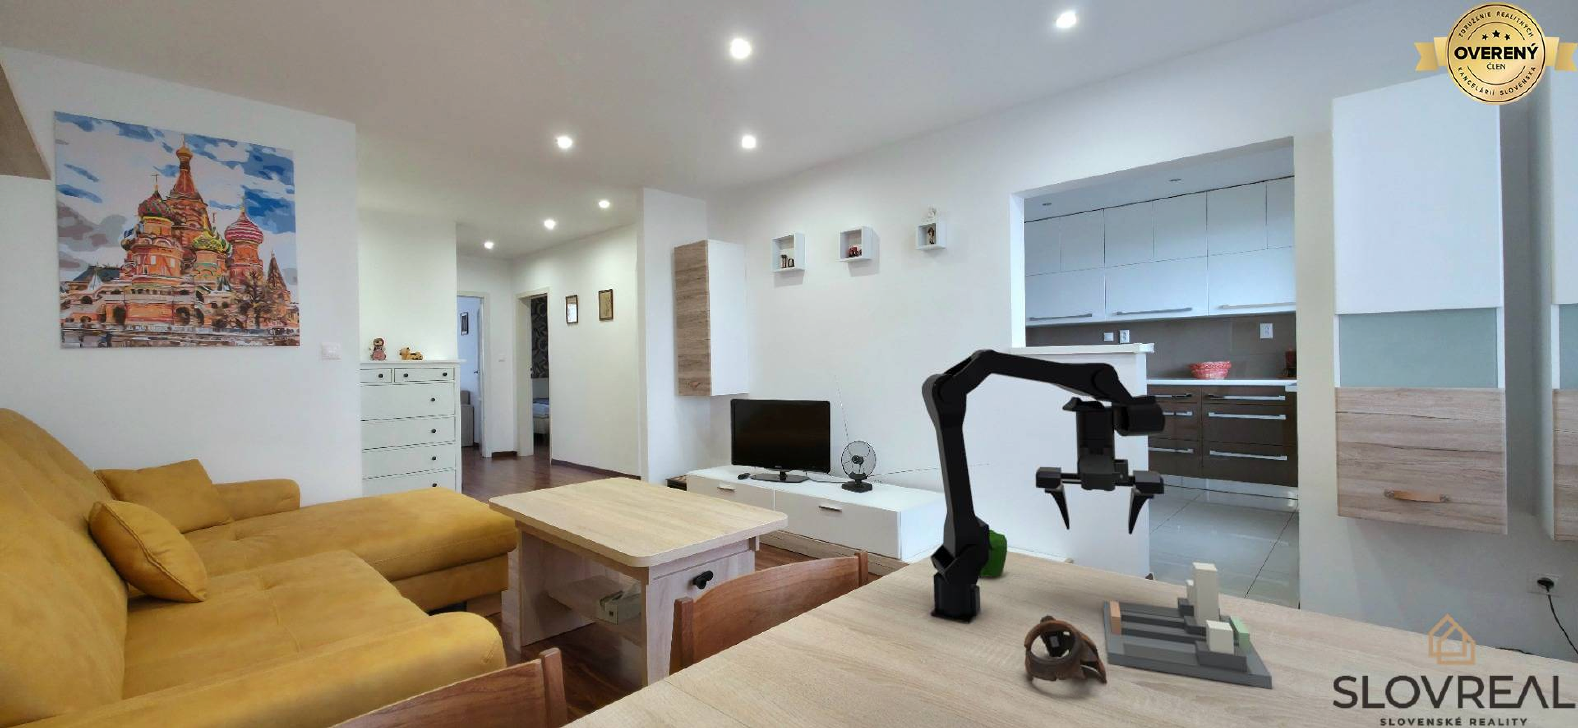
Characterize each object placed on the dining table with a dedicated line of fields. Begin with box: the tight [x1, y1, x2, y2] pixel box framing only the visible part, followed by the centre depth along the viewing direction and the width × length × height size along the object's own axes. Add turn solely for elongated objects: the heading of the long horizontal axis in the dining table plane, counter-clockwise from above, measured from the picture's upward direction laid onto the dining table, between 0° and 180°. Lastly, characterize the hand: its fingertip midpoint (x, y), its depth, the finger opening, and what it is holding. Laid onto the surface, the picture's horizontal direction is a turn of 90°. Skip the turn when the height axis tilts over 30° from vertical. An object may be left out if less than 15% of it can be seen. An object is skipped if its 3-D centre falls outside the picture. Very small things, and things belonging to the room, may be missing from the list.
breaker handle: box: [1184, 561, 1226, 636], centre depth 87 cm, size 5×4×10 cm
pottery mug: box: [1023, 614, 1108, 684], centre depth 81 cm, size 12×10×8 cm
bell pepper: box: [979, 529, 1008, 578], centre depth 120 cm, size 8×8×10 cm
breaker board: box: [1102, 579, 1273, 689], centre depth 88 cm, size 18×20×6 cm
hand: (1098, 531), depth 102 cm, fingers open, 9 cm apart
